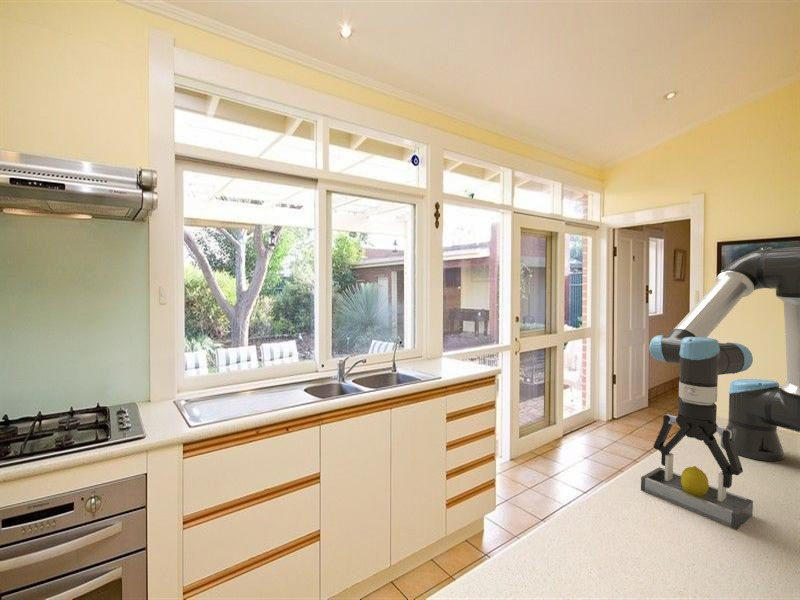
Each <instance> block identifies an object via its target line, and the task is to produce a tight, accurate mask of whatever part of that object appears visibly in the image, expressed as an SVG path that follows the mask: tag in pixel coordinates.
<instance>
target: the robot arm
mask: <svg viewBox="0 0 800 600" xmlns="http://www.w3.org/2000/svg"><path fill="white" fill-rule="evenodd" d="M760 289H773V290H774V289H775V297H777V299H779V300H780V301H782V302H783V313H784V314H783V315H784V334H785V337H784V338H785V355H786V356H785V357H786V379H787V381H785V382H784V383H782V384H781V385H780V384H779V382H778V381H775V380H772V379H758V378H739V379H734V380H732V381H731V382H730V386H729V391H728V395H729V397H728V422H727V425H726V427H725V428H723V427H719V426H718V423H717V408H718V407H717V404H716V403H717V402H718V379H719V376H720V375H730V374H731V375H733V374H738V373H740V372H745V371H747V370H749V368H750V367H752V365H753V360H754V358H753V354H752V352H751V351H750V350H749V347H747V346H745V345H744V344H741V343H739V342H738V343H737V342H725V343H722V342H720V341H719V340H717V339H715V338H713V337H712V338H711V337H709V336H710V335H711V333H713V332H714V330H715V329H716V328H717V327H718V325H720V323H721V322H722V321H723V320H724V319H725V318H726V317H727V315H729V313H730V312H731V311H732V310H733V309H734V308H735V306H736V305H737V304H738V303H739V302H740V301H741V300H742V299H743V298H745V297H748V296H750V295H751V294H753V292H755V290H756V291H757V290H760ZM648 348H649V353H650V356H651V357H652V358H653V359H654V360H656V361H659V362H664V363H666V364H673V365H678V366H679V378H678V379H679V380H678V397H680V398H679V399H678V402H677V403H678V405H677V406H678V407H677V408H678V409H677V413H678V414H677V416H675V415H673V414H672V413H667V414H665V415H664V416H662V418H663V420H662V421H663V422H662V426H661V428H660V430H659V433H658V435H657V437H656V440H655V442H654V444H653V446H652V447H653V448H654V450H658V451H659V452H660V453H661V461H660V462H661V466H663V467H664V469H665V480H666V481H669V480H671V479H672V478H673V472H674V453H672V452H671V451H672V450H673V449H674V448H675V447H676V446H677V445H678V444H679V443H680V442H681V441H682V440H683V438H685V436H686V437H687V438H690V439H695V440H698V441H701V442H703V443H704V444H705V446H707V448H708V449H709V451H710V452H711V454H712V456H713V458H714V460H715V461H716V463H717V465H718V466H719V468H720V470H721V471H720V472H718V481H717V482H718V483H717V484H718V485H717V488H718V500H719V501H721V502H722V501H723V500H724V499H725V498H726V491H727V489H730V488H731V487H732V484H733V475H734V476H740V474H742V473H743V472H744V470H743V467H742V463H741V461H740V458H739V456H741V457H744V458H748V459H753V460H758V461H766V462H778V461H782V460H783V459H784V449H783V446H782V443H781V440H780V437H779V434H778V432H777V431H778V430H777V429H778V428H783V429H786V430H789V431H792V432H796V433H800V246H795V247H781V248H765V249H759V250H755V251H753V252H750V253H747V254H745V255H742V256H741V257H739V258H738V259H735V261H733V262H731V263H730V264H729V265H727V266H726V267H725V268H724V269H723V270H721V272H720V273H718V274H717V276H716V278H715V283H714V285H713V286H712V287H711V288H710V289H709V290H708V291H707V292H706V293H705V295H704V296H703V297H702V298H701V299H700V300H699V301H698V302H697V303H696V304H695V306H693V308H692V309H691V310H690V311H689V312H688V313H687V314H686V315H685V316H684V318H683V319H682V320H681V321H680V322H679V323H678V324H677V325H675V327H674V328H673V329H672V331H670V333H669V334H668V335H665V334H661V335H660V334H658V335H655V336H654V337H652V338H651V340H650V343H649V346H648ZM675 423H676V424H677V426H679V428H680V429H679V430H678V431H677V432H676V433H675V435H674V436H673V437H672V438H671V439H670V440H669V441H668V442H667V444H665V442H666V440H667V437H668V435H669V433H670V431H671V429H672V426H673V425H674V424H675ZM716 433H718V435H719V437H720V446H721V448H720V446H719V444H718V442H717V439H716V437H715V434H716ZM664 444H665V445H664ZM722 449H724V451H725V453H726V456H725V454H724V452H723V451H722ZM726 457H727V458H726Z"/></svg>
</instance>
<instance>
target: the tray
mask: <svg viewBox="0 0 800 600" xmlns="http://www.w3.org/2000/svg"><path fill="white" fill-rule="evenodd" d="M681 475H682V474H679V473H677V472H674V471H673V478H672V479H671V480H669V481H666V480H665V468H662V467H656V468H654V470H652V471H650V472H648V473H646V474H645V475H642V476H641V477H640V491H642V492H644V493H647V494H649V495H651V496H654V497H656V498H659V499H661V500H664V501H666V502H669V503H671V504H673V505H676V506H678V507H680V508H683V509H685V510H688V511H689V512H693V513H695V514H697V515H700V516H702V517H704V518H707V519H709V520H712V521H713V522H717V523H719V524H721V525H723V526H726V527H728V528H731V529H732V530H736V531H738V530H739V529H740V528H741V527H742V526H743V525H744V524H745V523H746V522H747V521H749V519H751V517H752V516H753V513H754V500H753V499H749V498H746V497H743V496H741V495H738V494H735V493H733V492H730V491H727V490H726V498H725V499H724V500H723V501H722V502H721V501H719V500H718V487H716V486H713V485H711V484H709V488H708V491H707V493H706V494H705V495H704V496H702V497H696V496H693V495H691V494H688V493H686V492H685V491H684V489H683V487H682V485H681Z"/></svg>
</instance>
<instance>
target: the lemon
mask: <svg viewBox="0 0 800 600" xmlns="http://www.w3.org/2000/svg"><path fill="white" fill-rule="evenodd" d="M680 475H681V485H682V487H683V489H684V491H685V492H686V493H688V494H691V495H693V496H696V497H702V496H704V495H705V494H706V493H707V491H708V488H709V485H710V484H709V480H708V476H707V475H706V473H705V472H704V471H703V470H702V469H700V468H699V467H697V466H696V465H695V466H694V465H693V466H689V467H686V468H684V469H683V471H682V472H681V474H680Z"/></svg>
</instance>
